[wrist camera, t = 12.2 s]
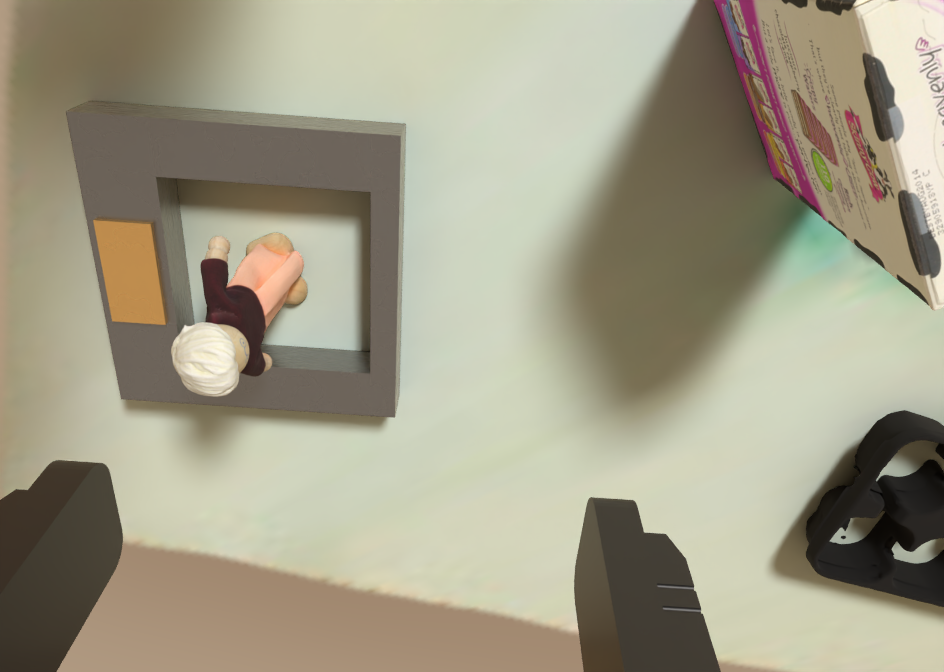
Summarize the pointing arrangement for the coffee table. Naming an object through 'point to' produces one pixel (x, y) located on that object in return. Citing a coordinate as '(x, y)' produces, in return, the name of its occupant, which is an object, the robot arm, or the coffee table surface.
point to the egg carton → (885, 515)
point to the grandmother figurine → (237, 313)
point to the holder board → (163, 251)
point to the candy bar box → (854, 119)
